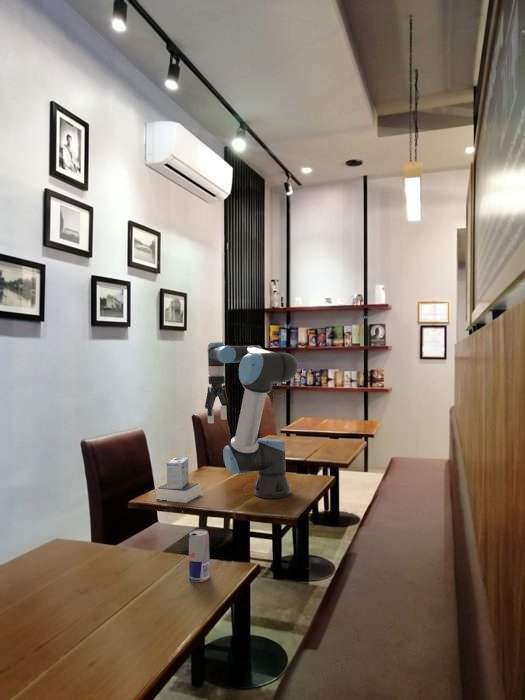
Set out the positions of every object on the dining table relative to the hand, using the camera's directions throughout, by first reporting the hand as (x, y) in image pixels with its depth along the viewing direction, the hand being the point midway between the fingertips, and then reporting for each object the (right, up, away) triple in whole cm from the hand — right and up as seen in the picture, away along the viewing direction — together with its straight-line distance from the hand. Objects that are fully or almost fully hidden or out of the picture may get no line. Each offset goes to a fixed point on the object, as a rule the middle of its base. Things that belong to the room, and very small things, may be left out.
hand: (217, 421), depth 232 cm
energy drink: (+4, -27, -100) cm, 104 cm away
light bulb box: (-14, -24, -23) cm, 36 cm away
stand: (-14, -29, -23) cm, 39 cm away
